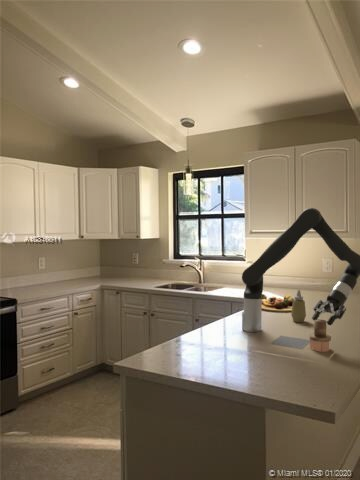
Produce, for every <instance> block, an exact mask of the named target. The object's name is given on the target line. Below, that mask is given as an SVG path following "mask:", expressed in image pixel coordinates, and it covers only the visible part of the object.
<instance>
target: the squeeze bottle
mask: <svg viewBox="0 0 360 480" xmlns="http://www.w3.org/2000/svg"><path fill="white" fill-rule="evenodd" d="M306 310H307V309H306V301H305V300H304V296H303V295H302V293H301V289H297V293H296V295H294V300H293V304H292V312H290V313H291V318H292V320H293V322H295V323H304V321H305V319H306V317H307V311H306Z"/></svg>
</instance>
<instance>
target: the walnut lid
mask: <svg viewBox="0 0 360 480" xmlns="http://www.w3.org/2000/svg"><path fill="white" fill-rule="evenodd" d="M313 322H314V333H310V334H309V340H310V339H311V340H314V341H320V342H327V341H330V342H331V341H332V336H331V335H329V334H327V320H325V319H317V320H313Z"/></svg>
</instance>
